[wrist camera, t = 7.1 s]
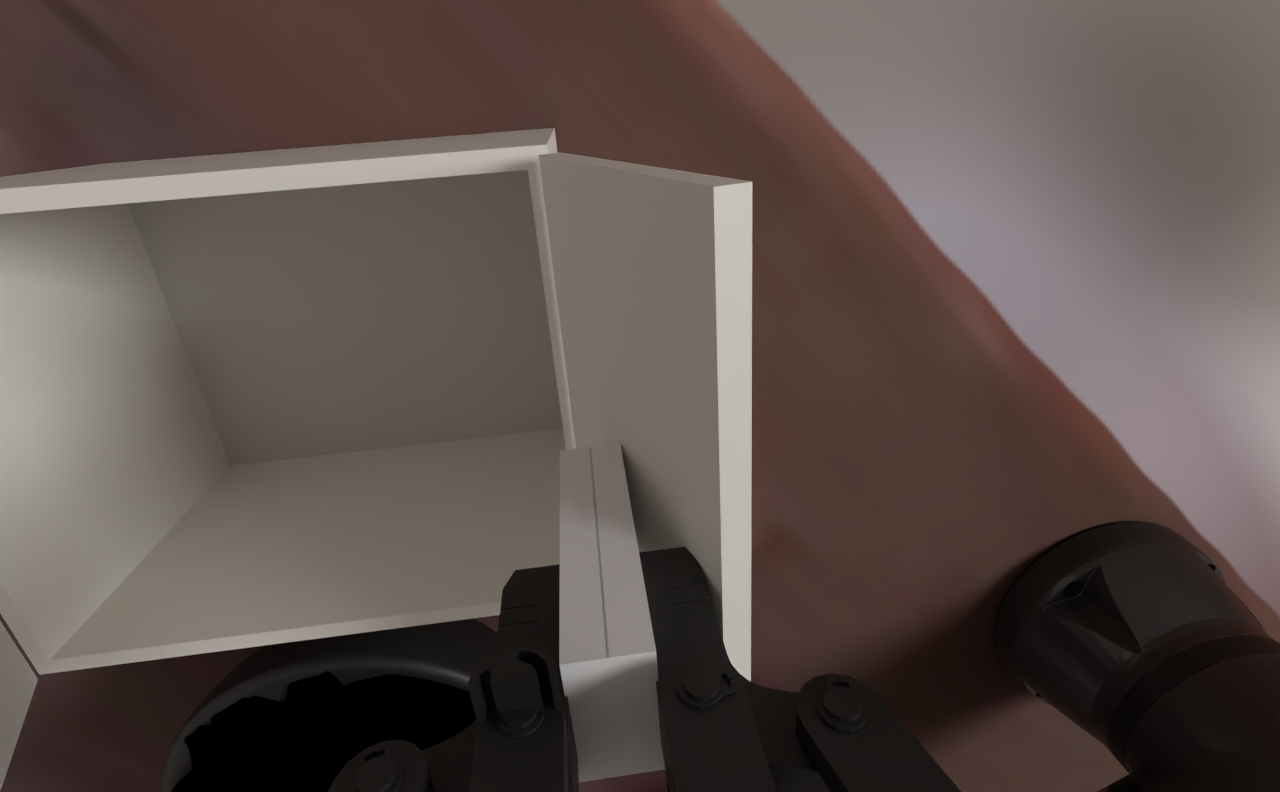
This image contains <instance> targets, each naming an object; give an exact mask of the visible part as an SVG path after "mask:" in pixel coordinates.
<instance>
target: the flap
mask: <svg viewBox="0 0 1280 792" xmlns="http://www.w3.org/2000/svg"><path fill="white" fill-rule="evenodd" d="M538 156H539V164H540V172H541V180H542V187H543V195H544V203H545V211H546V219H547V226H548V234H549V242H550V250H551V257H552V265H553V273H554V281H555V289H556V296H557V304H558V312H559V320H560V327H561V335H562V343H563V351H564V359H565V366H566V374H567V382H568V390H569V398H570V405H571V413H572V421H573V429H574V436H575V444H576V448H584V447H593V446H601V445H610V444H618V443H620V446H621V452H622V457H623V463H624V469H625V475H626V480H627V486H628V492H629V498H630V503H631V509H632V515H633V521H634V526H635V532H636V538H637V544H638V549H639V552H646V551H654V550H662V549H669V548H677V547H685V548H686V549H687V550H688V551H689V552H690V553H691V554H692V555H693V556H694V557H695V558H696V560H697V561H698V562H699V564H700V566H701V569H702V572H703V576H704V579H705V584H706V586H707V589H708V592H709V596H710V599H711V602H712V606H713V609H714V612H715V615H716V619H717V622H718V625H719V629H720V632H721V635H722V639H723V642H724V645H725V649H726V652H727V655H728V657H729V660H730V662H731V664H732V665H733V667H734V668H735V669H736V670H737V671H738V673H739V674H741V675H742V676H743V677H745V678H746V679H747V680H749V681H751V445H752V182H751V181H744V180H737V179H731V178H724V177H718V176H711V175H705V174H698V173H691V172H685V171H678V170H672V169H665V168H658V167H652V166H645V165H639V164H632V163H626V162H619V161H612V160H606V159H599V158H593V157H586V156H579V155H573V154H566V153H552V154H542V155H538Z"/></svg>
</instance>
